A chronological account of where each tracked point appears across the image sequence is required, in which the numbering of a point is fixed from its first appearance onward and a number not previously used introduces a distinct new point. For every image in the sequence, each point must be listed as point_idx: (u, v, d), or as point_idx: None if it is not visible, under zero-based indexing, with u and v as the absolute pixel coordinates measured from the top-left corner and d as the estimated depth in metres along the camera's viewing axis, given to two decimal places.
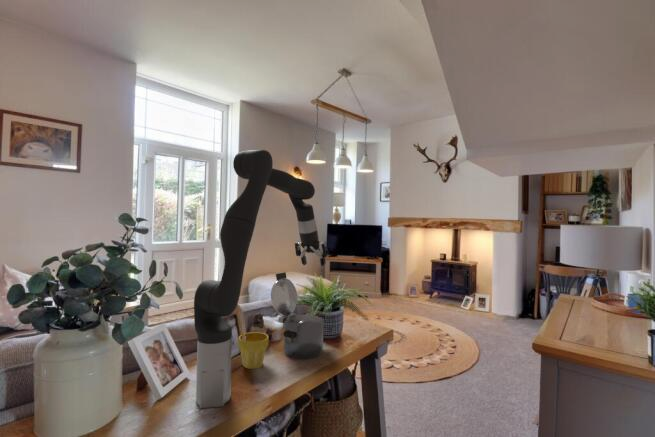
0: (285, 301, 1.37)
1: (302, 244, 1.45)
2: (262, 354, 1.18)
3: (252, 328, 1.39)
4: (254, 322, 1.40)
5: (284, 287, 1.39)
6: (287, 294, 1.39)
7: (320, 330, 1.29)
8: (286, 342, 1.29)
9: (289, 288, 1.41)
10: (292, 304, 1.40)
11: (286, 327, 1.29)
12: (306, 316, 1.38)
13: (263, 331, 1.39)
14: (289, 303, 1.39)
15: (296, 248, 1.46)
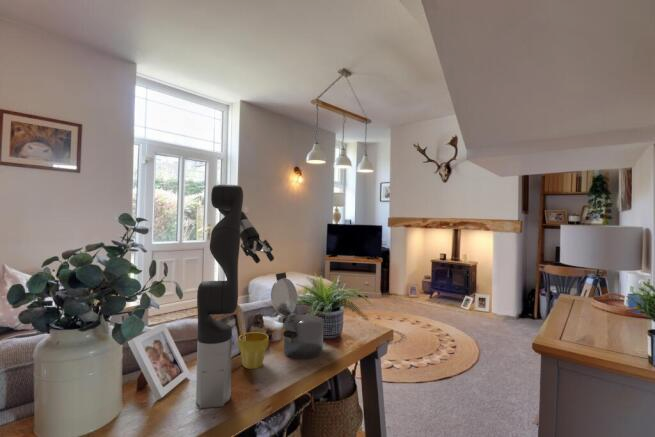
0: (285, 301, 1.37)
1: (249, 241, 1.45)
2: (262, 354, 1.18)
3: (252, 328, 1.39)
4: (254, 322, 1.40)
5: (284, 287, 1.39)
6: (287, 294, 1.39)
7: (320, 330, 1.29)
8: (286, 342, 1.29)
9: (289, 288, 1.41)
10: (292, 304, 1.40)
11: (286, 327, 1.29)
12: (306, 316, 1.38)
13: (263, 331, 1.39)
14: (289, 303, 1.39)
15: (246, 245, 1.41)
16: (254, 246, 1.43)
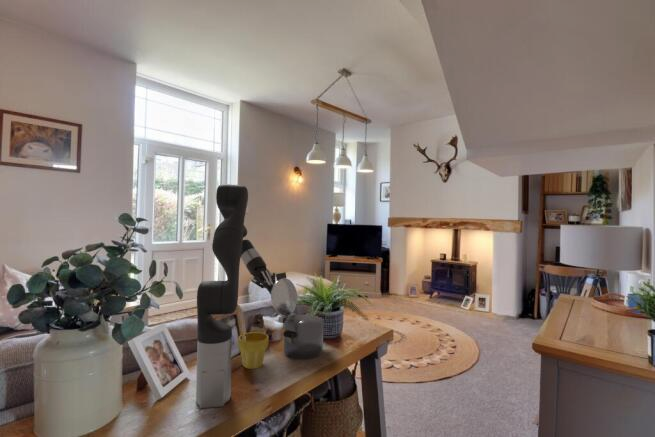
0: (285, 301, 1.37)
1: (257, 272, 1.42)
2: (262, 354, 1.18)
3: (252, 328, 1.39)
4: (254, 322, 1.40)
5: (284, 287, 1.39)
6: (287, 294, 1.39)
7: (320, 330, 1.29)
8: (286, 342, 1.29)
9: (289, 288, 1.41)
10: (292, 304, 1.40)
11: (286, 327, 1.29)
12: (306, 316, 1.38)
13: (263, 331, 1.39)
14: (289, 303, 1.39)
15: (259, 279, 1.39)
16: (265, 278, 1.42)
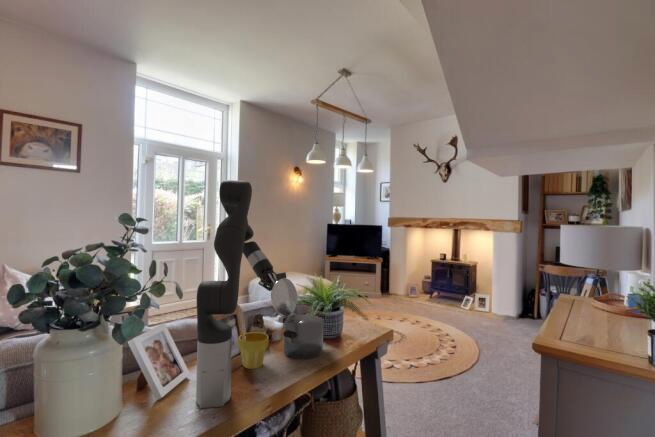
0: (285, 301, 1.37)
1: (263, 275, 1.40)
2: (262, 354, 1.18)
3: (252, 328, 1.39)
4: (254, 322, 1.40)
5: (284, 287, 1.39)
6: (287, 294, 1.39)
7: (320, 330, 1.29)
8: (286, 342, 1.29)
9: (289, 288, 1.41)
10: (292, 304, 1.40)
11: (286, 327, 1.29)
12: (306, 316, 1.38)
13: (263, 331, 1.39)
14: (289, 303, 1.39)
15: (266, 282, 1.37)
16: (272, 280, 1.40)
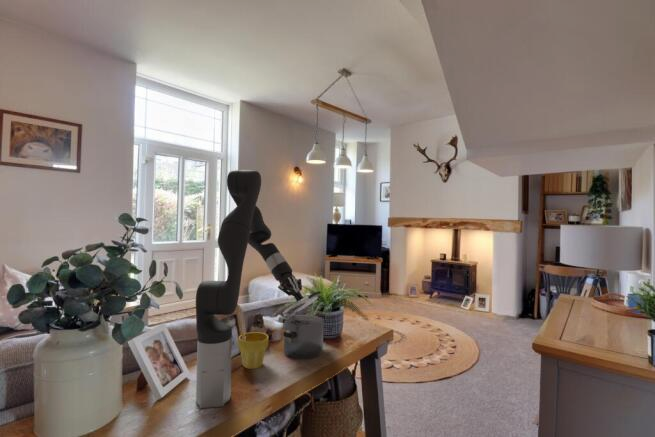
0: (296, 309, 1.34)
1: (283, 278, 1.34)
2: (262, 354, 1.18)
3: (252, 328, 1.39)
4: (254, 322, 1.40)
5: (308, 301, 1.32)
6: (304, 305, 1.34)
7: (320, 330, 1.29)
8: (286, 342, 1.29)
9: (310, 301, 1.35)
10: (299, 309, 1.38)
11: (286, 327, 1.29)
12: (306, 316, 1.38)
13: (263, 331, 1.39)
14: (298, 309, 1.36)
15: (286, 286, 1.32)
16: (292, 284, 1.34)
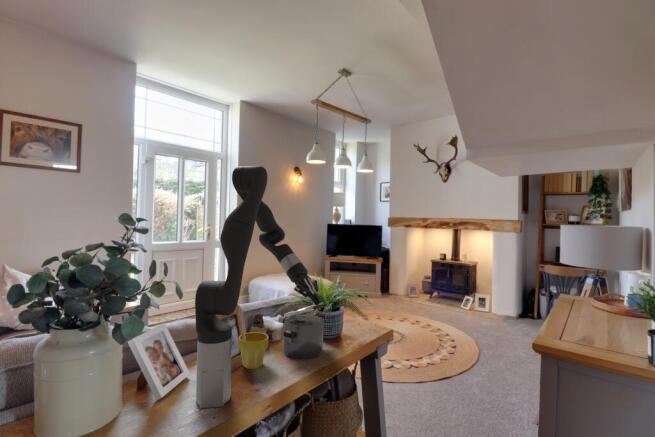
0: None
1: (299, 280, 1.30)
2: (262, 354, 1.18)
3: (252, 328, 1.39)
4: (254, 322, 1.40)
5: None
6: None
7: (320, 330, 1.29)
8: (286, 342, 1.29)
9: None
10: None
11: (286, 327, 1.29)
12: (306, 316, 1.38)
13: (263, 331, 1.39)
14: None
15: (302, 287, 1.28)
16: (308, 286, 1.30)
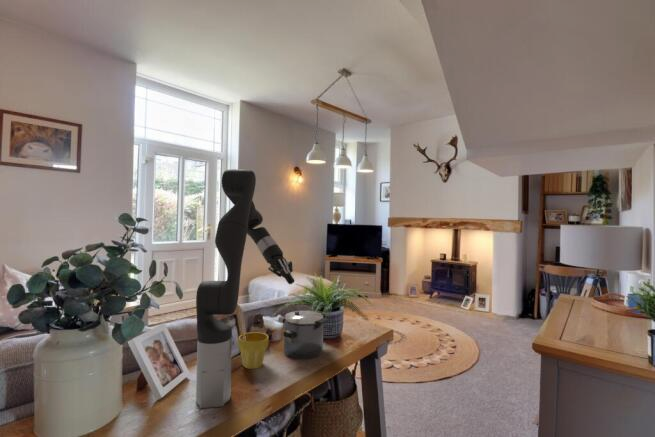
0: None
1: (273, 260, 1.37)
2: (262, 354, 1.18)
3: (252, 328, 1.39)
4: (254, 322, 1.40)
5: None
6: None
7: (320, 330, 1.29)
8: (286, 342, 1.29)
9: None
10: None
11: (286, 327, 1.29)
12: None
13: (263, 331, 1.39)
14: None
15: (276, 267, 1.35)
16: (282, 266, 1.37)
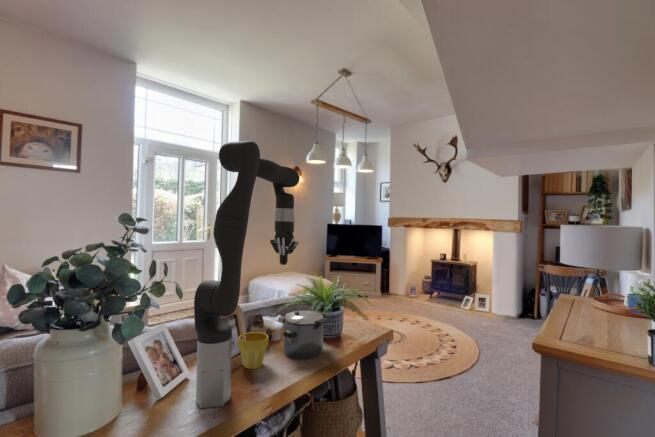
0: None
1: (275, 236, 1.36)
2: (262, 354, 1.18)
3: (252, 328, 1.39)
4: (254, 322, 1.40)
5: None
6: None
7: (320, 330, 1.29)
8: (286, 342, 1.29)
9: None
10: None
11: (286, 327, 1.29)
12: None
13: (263, 331, 1.39)
14: None
15: (273, 245, 1.36)
16: (278, 246, 1.34)
